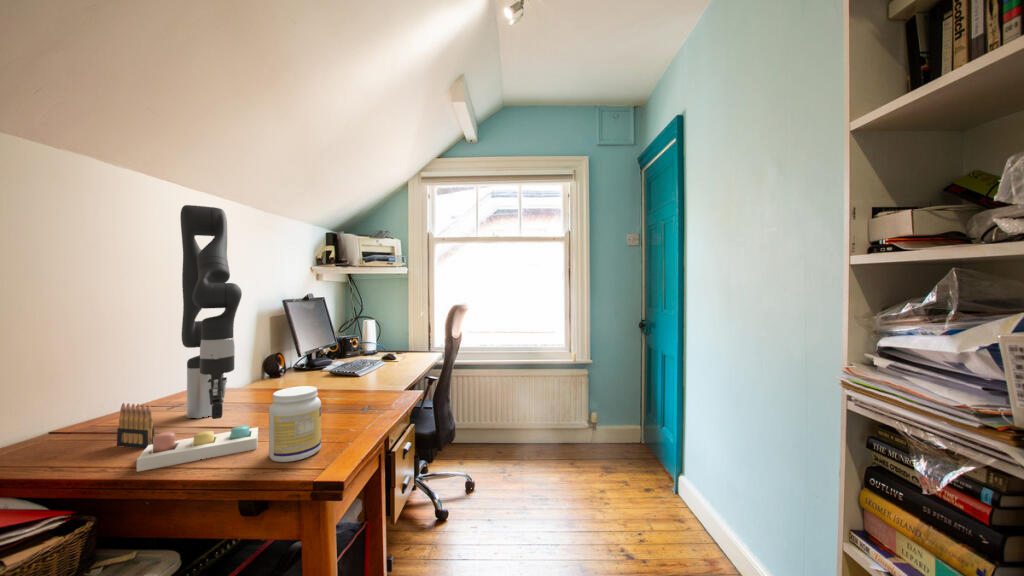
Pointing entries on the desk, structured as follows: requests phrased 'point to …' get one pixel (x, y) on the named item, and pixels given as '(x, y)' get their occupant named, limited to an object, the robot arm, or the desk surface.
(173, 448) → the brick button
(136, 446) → the ammunition clip
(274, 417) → the supplement tub
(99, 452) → the desk surface
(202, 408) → the robot arm
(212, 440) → the ochre button
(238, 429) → the teal button
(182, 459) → the panel
